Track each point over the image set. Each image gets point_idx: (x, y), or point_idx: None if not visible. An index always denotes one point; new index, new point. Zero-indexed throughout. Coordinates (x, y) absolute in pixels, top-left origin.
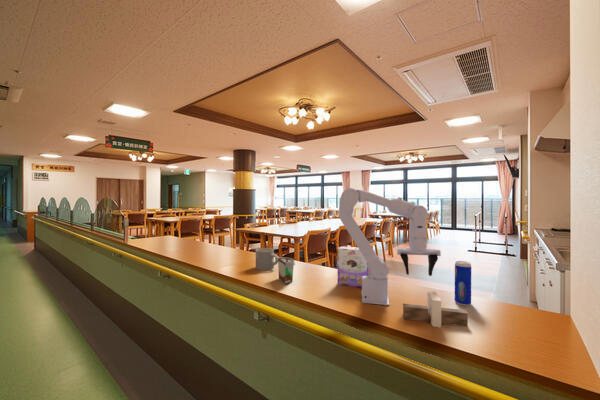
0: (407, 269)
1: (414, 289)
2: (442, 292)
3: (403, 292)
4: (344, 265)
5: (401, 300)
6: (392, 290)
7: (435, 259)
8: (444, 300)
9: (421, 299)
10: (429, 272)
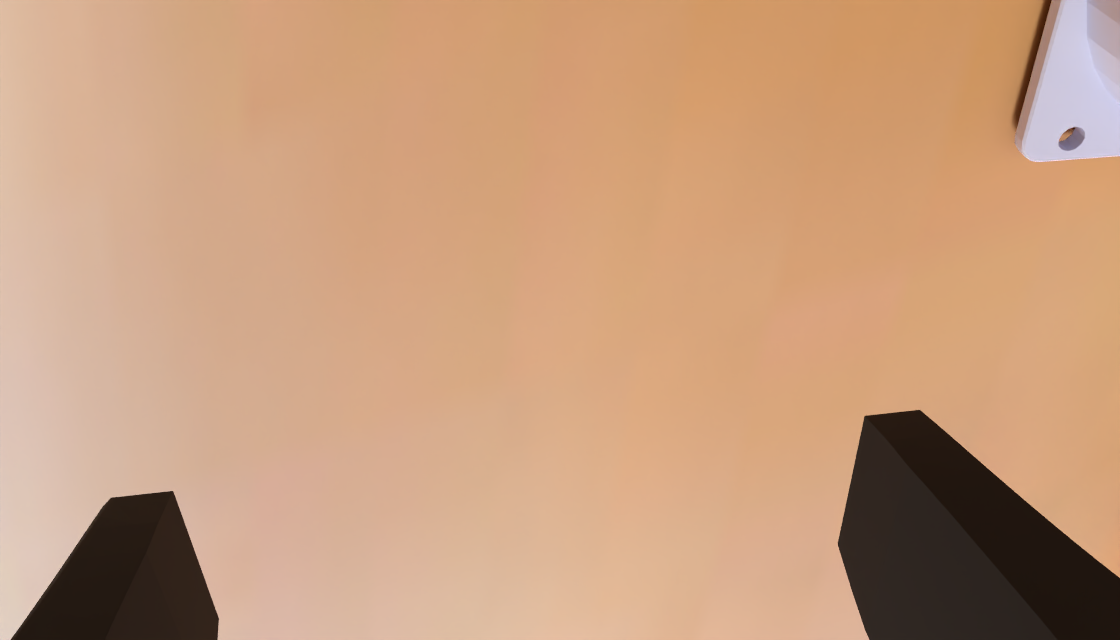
0: (1008, 533)
1: (502, 597)
2: None
3: (684, 449)
4: None
5: (786, 107)
6: (842, 468)
7: None
8: (39, 352)
9: (422, 269)
10: (154, 601)
